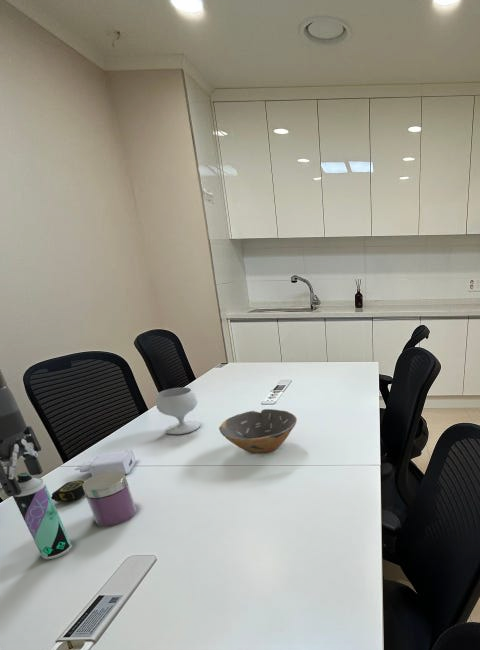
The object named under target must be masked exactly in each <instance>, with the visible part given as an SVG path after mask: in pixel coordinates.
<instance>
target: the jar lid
mask: <svg viewBox="0 0 480 650" xmlns="http://www.w3.org/2000/svg"><path fill="white" fill-rule="evenodd" d="M127 483H128V481H127V477H126V474H124V473H123V472H120V471H109V472H104V473H100V474H97V475H95V476H91V477H89V478H87V479H86V480H84V483H83V485H82V487H83V489H84V492H85V494H86V496H87V497H90V498H100V497H106V496H109V495H112V494H114V493H117V492H119V491H120V490H122V489H123V488H124V487H125V486H126V485H127ZM86 496H85V497H86Z"/></svg>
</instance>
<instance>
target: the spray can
mask: <svg viewBox="0 0 480 650" xmlns="http://www.w3.org/2000/svg"><path fill="white" fill-rule="evenodd" d="M16 477H17V479H16V480H17V483H18V485H19V487H20V489H21V491H22V493H21V494H20V495H17V496H12V498H13V500H14V502H15V504H16V506H17V508H18V511H19V512H20V514H21V516H22V518H23V520H24V523H25V525H26V527H27V529H28V531H29V533H30V535H31V538H32V539H33V540H34V543H35V545H36V548H37V549H38V552H39V554H40V556H41V558H42V559H43V560H53V559H56V558H60V557H62V556H64V555H65V554H67V553H68V552H69V551H70V550H71V549H72V546H73V545H72V542H71V540H70V538H69V535H68V533H67V531H66V528H65V526H64V523H63V521H62V519H61V517H60V514H59V512H58V510H57V507H56V505H55V503H54V500H52V498H51V497H52V495H51V494H50V492H49V490H48V487H47V485H46V483H45V481H44V480H43V478H41V477H34V476H32V475H30V474H29V472H21V473H18V474H17V476H16Z"/></svg>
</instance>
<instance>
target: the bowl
mask: <svg viewBox="0 0 480 650" xmlns="http://www.w3.org/2000/svg"><path fill="white" fill-rule="evenodd" d="M297 421H298V418H297V417H296V415H295V414H293V413H292V412H289V411H286V410H280V409H270V408H265V409H261V411H257V410H256V411H255V410H251V411H246V412H242V413H237V414H236V415H233V416H230V417H229V418H227V419H225V420H224V421H223V422H222V423H221V424H220V426H219V427H218V430H219V432H220V434H221V435H222V436H223V437H225V439H226V440H227V441H229V442H230V443H232V444H233V445H235V446H236V447H238V448H239V449H241V450H243V451H245V452H247V453H250V454H253V455H265V454H270V453H273V452H274V451H277V450H278V449H279V448H280V447H281V445H282V444H283V443H284V442H285V441H286V439H287V438H288V437H289V435H290V433H291V432H292V431H293V429H294V428H295V426H296V424H297Z"/></svg>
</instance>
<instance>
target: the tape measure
mask: <svg viewBox="0 0 480 650" xmlns="http://www.w3.org/2000/svg"><path fill="white" fill-rule="evenodd" d="M84 482H85V480H81V479H79V480H78V479H77V480H73V481H68V482H66V483H64V484H63V485H61V486H60V487H59V488H57V489H56V490H55V491H54V492H52V493H51V498H52V501H54V502H57V503H58V502H62V501H63V502H72V501H76V500H78V499H80V498H82V497H84V496H85V492H84V489H83V487H82V485H83V483H84Z"/></svg>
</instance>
